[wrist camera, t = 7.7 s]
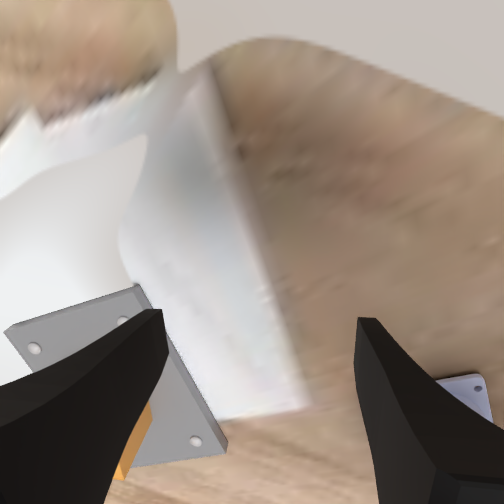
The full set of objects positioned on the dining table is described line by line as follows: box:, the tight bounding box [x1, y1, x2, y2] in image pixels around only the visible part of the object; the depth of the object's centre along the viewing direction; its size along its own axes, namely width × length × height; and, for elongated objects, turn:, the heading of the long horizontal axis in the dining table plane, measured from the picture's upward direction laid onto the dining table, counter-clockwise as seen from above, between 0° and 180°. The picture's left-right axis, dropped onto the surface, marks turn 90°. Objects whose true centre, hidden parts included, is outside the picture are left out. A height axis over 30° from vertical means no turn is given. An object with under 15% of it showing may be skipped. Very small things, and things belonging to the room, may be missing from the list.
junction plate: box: [4, 285, 228, 468], centre depth 27 cm, size 16×12×4 cm
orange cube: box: [113, 400, 153, 480], centre depth 26 cm, size 5×5×5 cm
